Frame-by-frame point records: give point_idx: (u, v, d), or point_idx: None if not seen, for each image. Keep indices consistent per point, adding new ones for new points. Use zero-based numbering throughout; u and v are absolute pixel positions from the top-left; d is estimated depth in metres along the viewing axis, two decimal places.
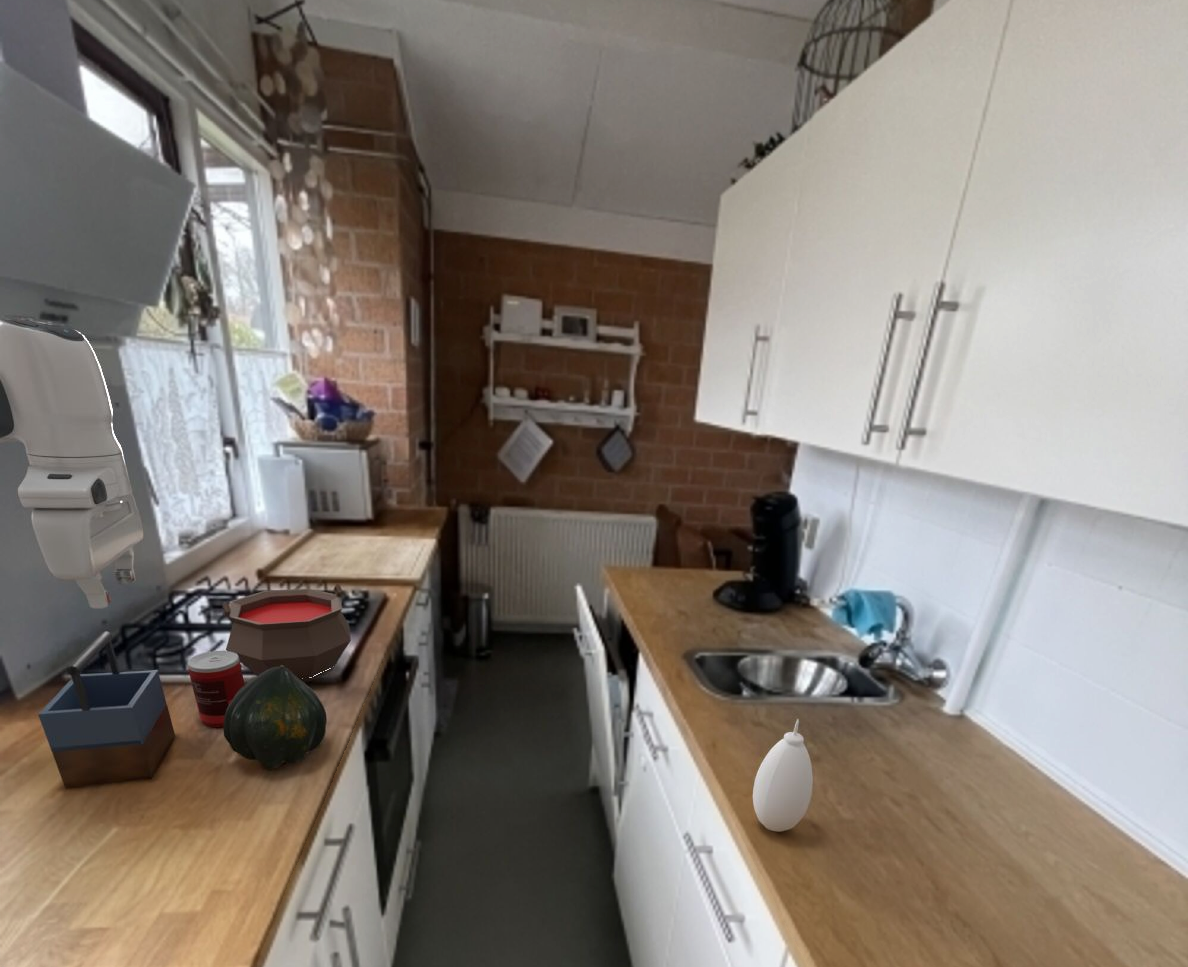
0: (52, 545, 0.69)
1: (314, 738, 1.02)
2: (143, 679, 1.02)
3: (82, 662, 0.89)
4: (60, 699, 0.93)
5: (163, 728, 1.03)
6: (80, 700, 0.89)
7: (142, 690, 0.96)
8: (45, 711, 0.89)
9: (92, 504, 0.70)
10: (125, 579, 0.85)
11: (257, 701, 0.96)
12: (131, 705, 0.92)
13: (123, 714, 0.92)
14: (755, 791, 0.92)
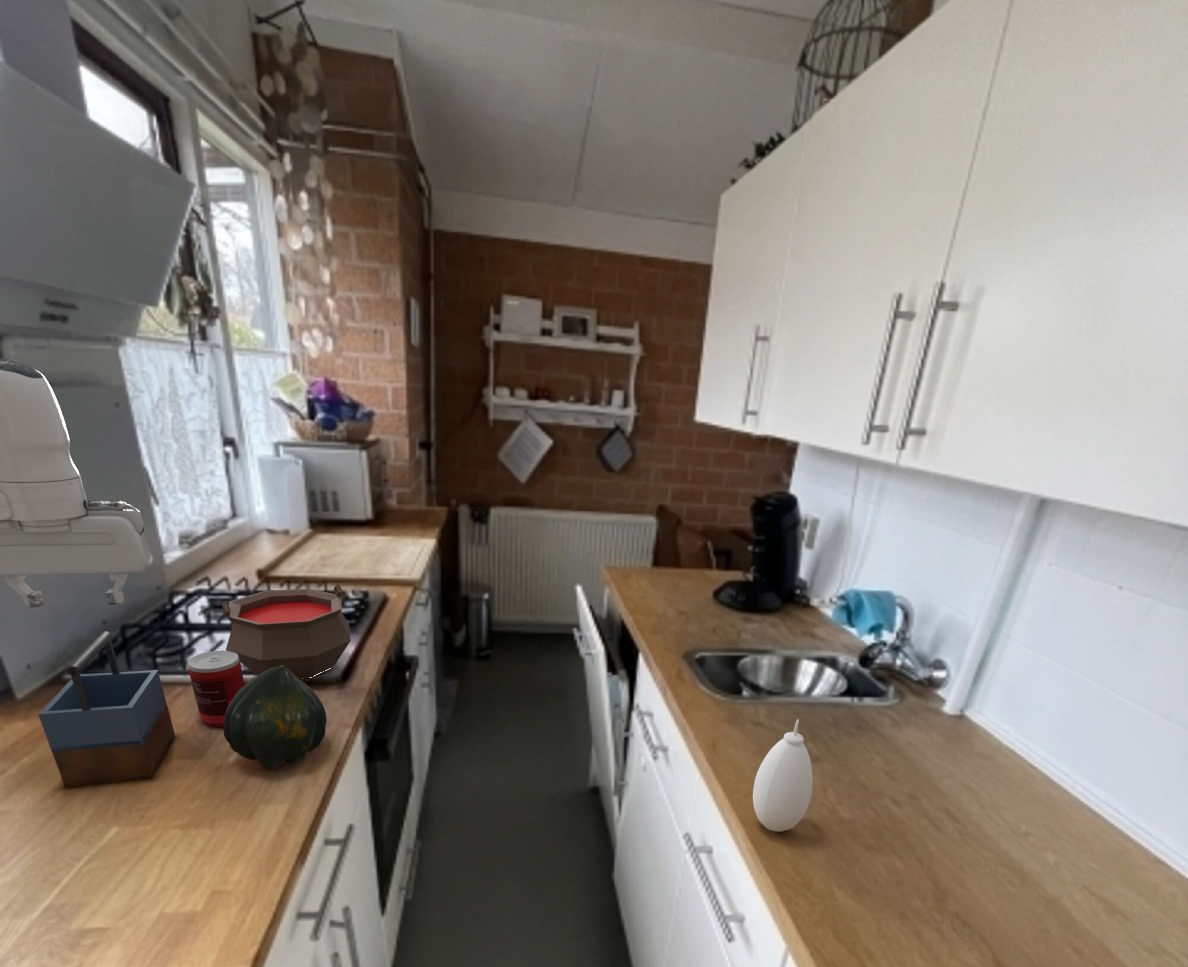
0: None
1: (314, 738, 1.02)
2: (143, 679, 1.02)
3: (82, 662, 0.89)
4: (60, 699, 0.93)
5: (163, 728, 1.03)
6: (80, 700, 0.89)
7: (142, 690, 0.96)
8: (45, 711, 0.89)
9: None
10: None
11: (257, 701, 0.96)
12: (131, 705, 0.92)
13: (123, 714, 0.92)
14: (755, 791, 0.92)
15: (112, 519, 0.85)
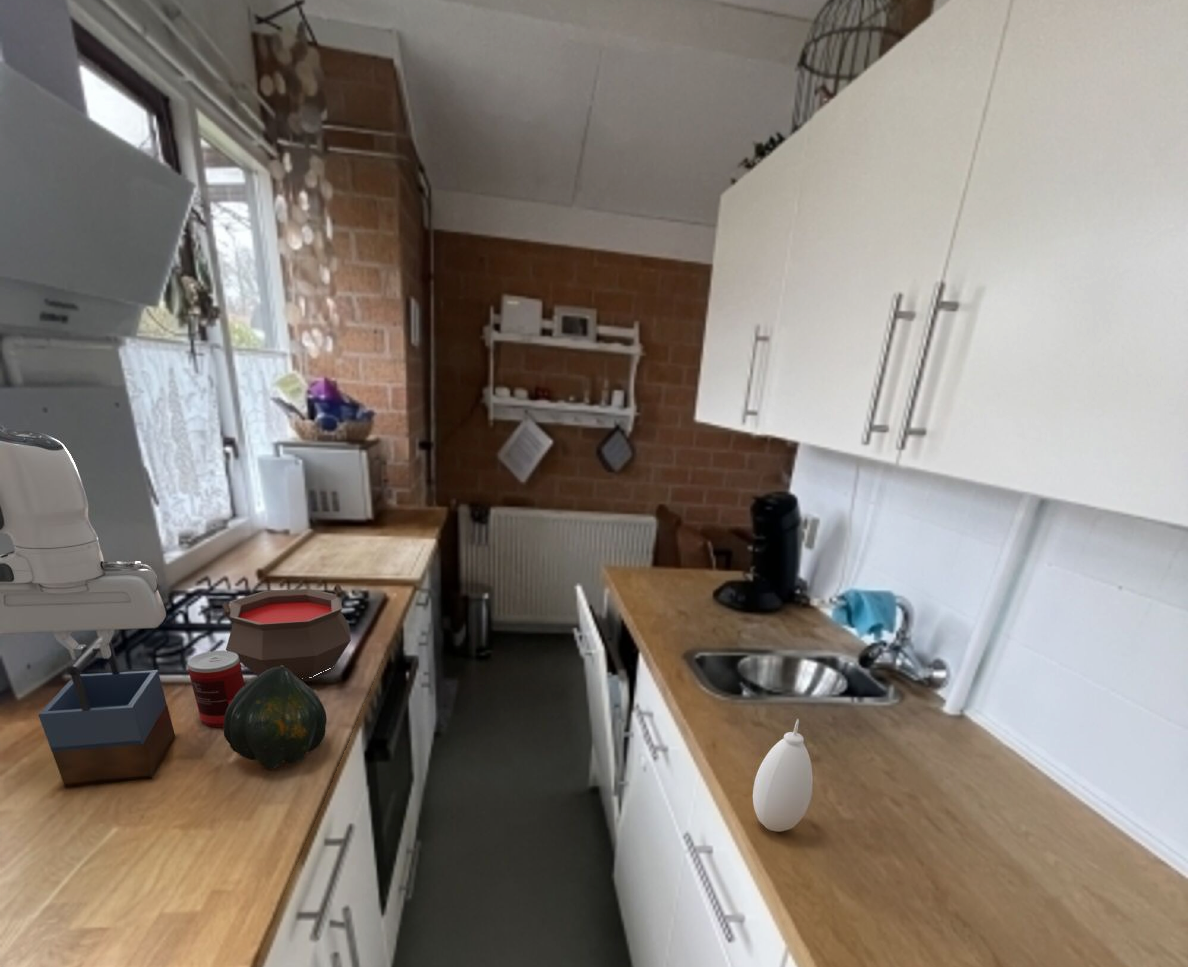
0: None
1: (314, 738, 1.02)
2: (143, 679, 1.02)
3: (82, 662, 0.89)
4: (60, 699, 0.93)
5: (163, 728, 1.03)
6: (80, 700, 0.89)
7: (142, 690, 0.96)
8: (45, 711, 0.89)
9: None
10: None
11: (257, 701, 0.96)
12: (131, 705, 0.92)
13: (123, 714, 0.91)
14: (755, 791, 0.92)
15: (128, 579, 0.89)
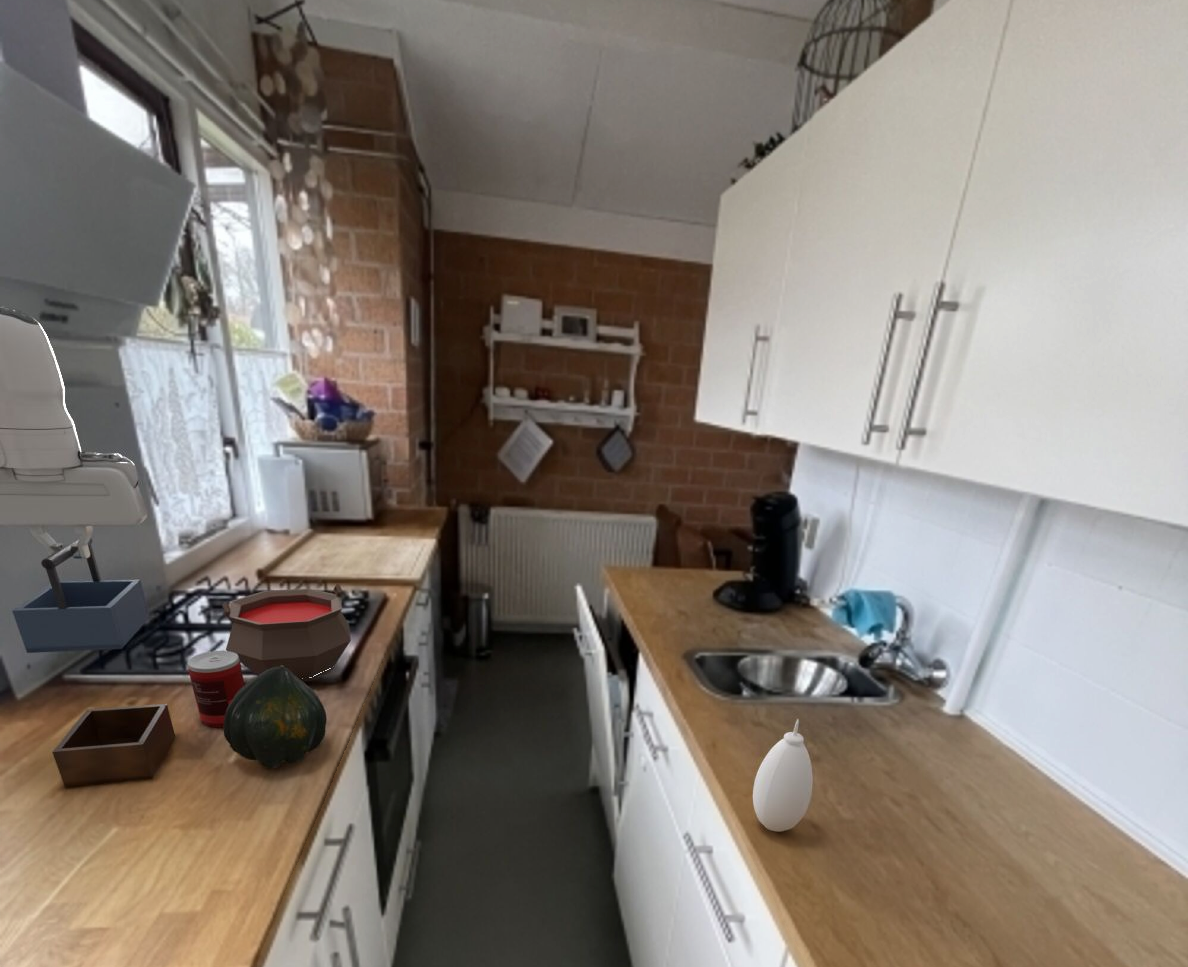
0: None
1: (314, 738, 1.02)
2: (125, 588, 0.98)
3: (58, 557, 0.85)
4: (36, 600, 0.89)
5: (163, 728, 1.03)
6: (56, 597, 0.85)
7: (122, 594, 0.92)
8: (20, 608, 0.85)
9: None
10: None
11: (257, 701, 0.96)
12: (110, 606, 0.88)
13: (102, 614, 0.88)
14: (755, 791, 0.92)
15: (106, 471, 0.85)
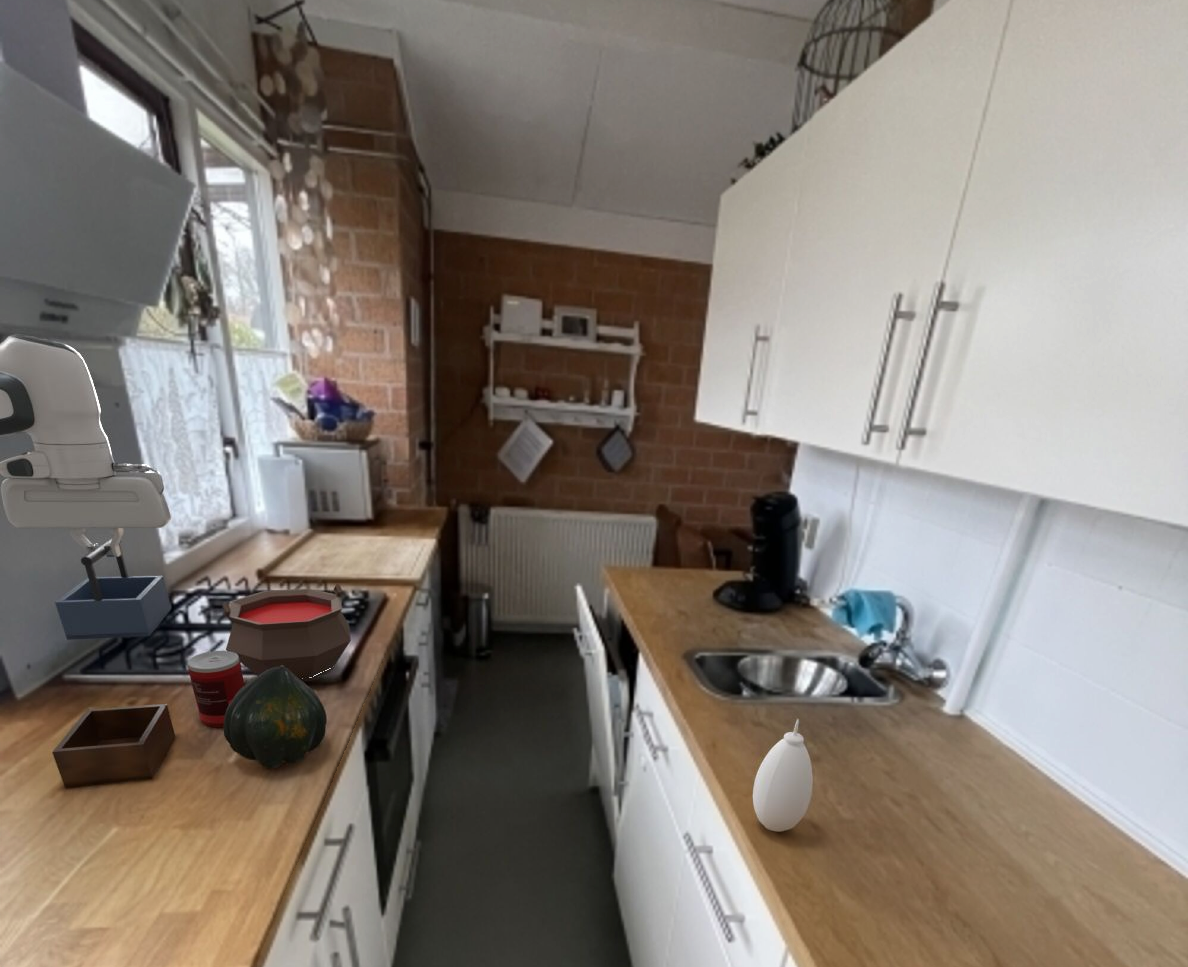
0: None
1: (314, 738, 1.02)
2: (149, 583, 1.10)
3: (95, 555, 0.97)
4: (74, 593, 1.02)
5: (163, 728, 1.03)
6: (93, 590, 0.98)
7: (149, 588, 1.05)
8: (61, 600, 0.98)
9: (3, 474, 0.91)
10: None
11: (257, 701, 0.96)
12: (139, 598, 1.01)
13: (132, 605, 1.00)
14: (755, 791, 0.92)
15: (136, 480, 0.97)
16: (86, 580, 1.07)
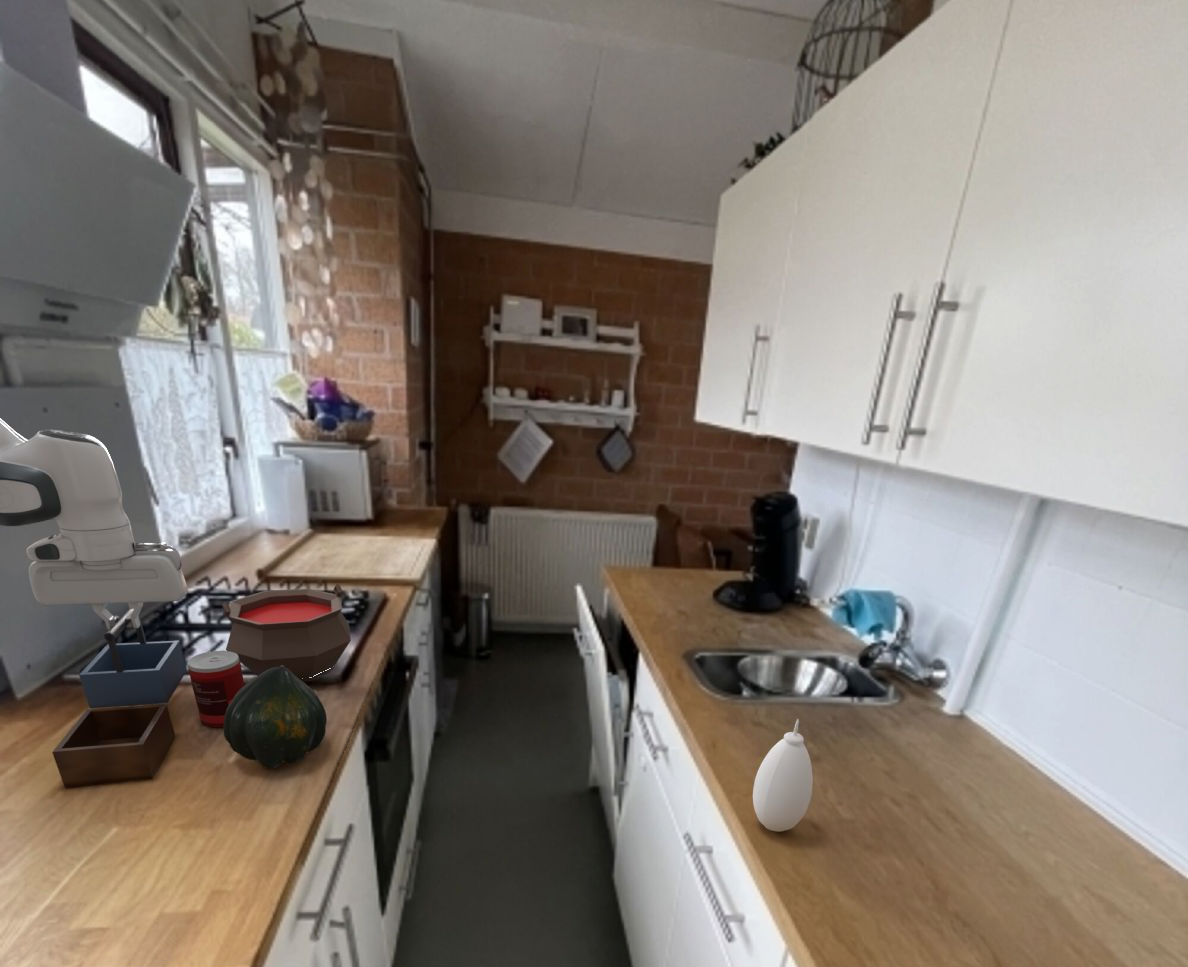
0: None
1: (314, 738, 1.02)
2: (166, 648, 1.16)
3: (116, 630, 1.03)
4: (96, 663, 1.07)
5: (163, 728, 1.03)
6: (115, 663, 1.03)
7: (167, 656, 1.10)
8: (85, 672, 1.03)
9: (31, 558, 0.97)
10: None
11: (257, 701, 0.96)
12: (158, 668, 1.06)
13: (152, 676, 1.05)
14: (755, 791, 0.92)
15: (155, 558, 1.02)
16: (107, 647, 1.12)
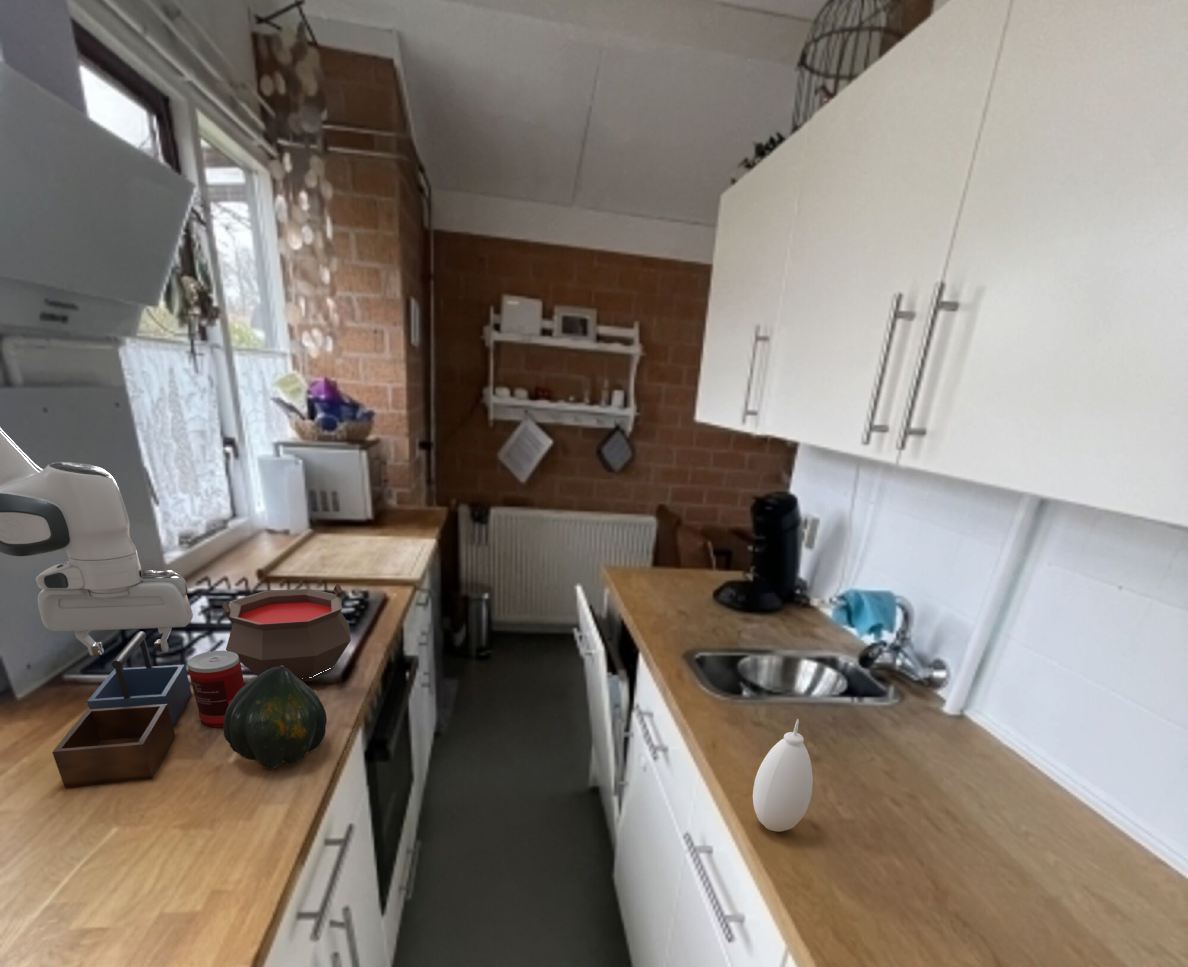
0: None
1: (314, 738, 1.02)
2: (172, 672, 1.18)
3: (124, 657, 1.05)
4: (103, 689, 1.09)
5: (163, 728, 1.03)
6: (122, 689, 1.05)
7: (172, 681, 1.12)
8: (92, 699, 1.05)
9: (41, 587, 0.99)
10: None
11: (257, 701, 0.96)
12: (164, 694, 1.08)
13: (158, 701, 1.08)
14: (755, 791, 0.92)
15: (162, 586, 1.04)
16: (113, 672, 1.14)
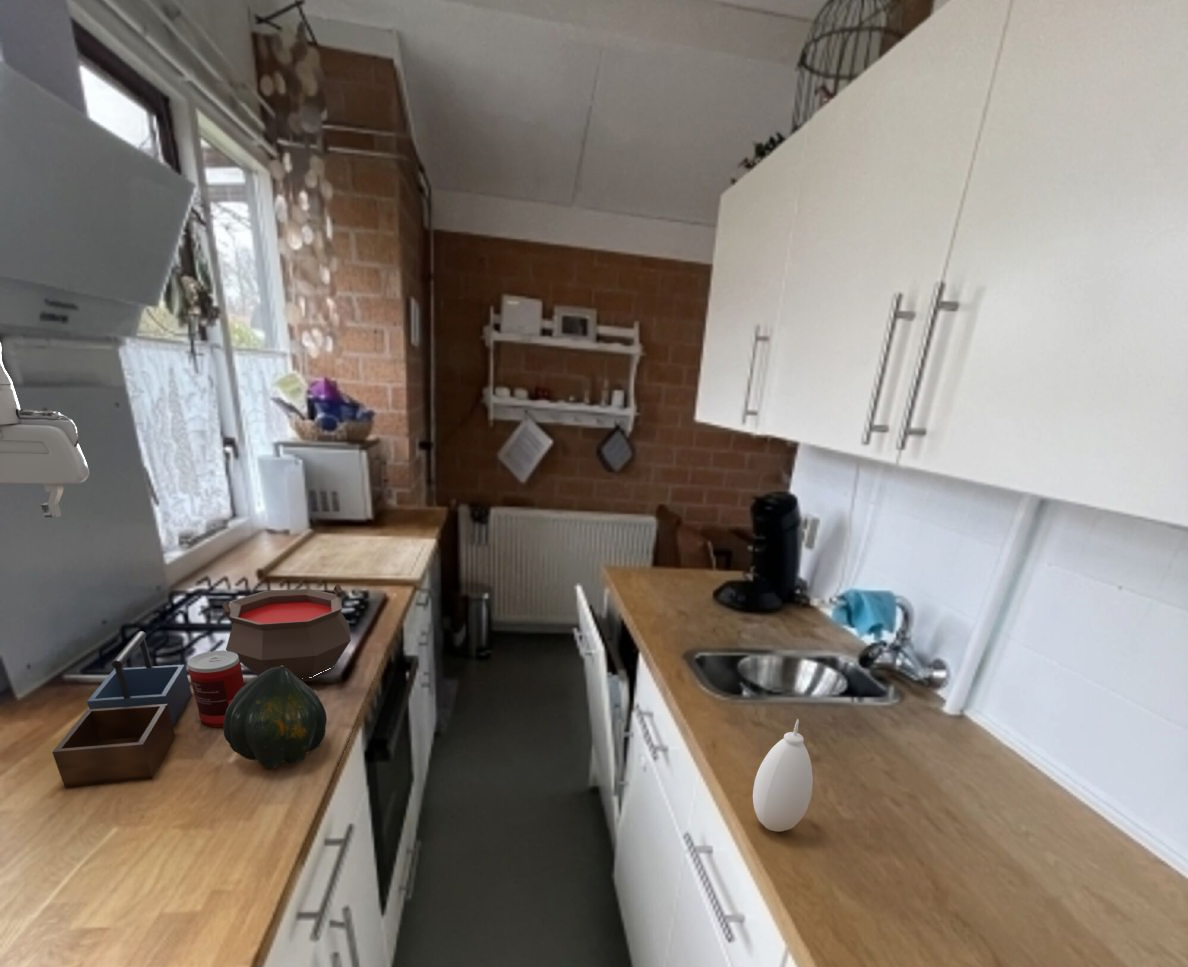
0: None
1: (314, 738, 1.02)
2: (172, 672, 1.18)
3: (124, 657, 1.05)
4: (103, 689, 1.09)
5: (163, 728, 1.03)
6: (122, 689, 1.05)
7: (172, 681, 1.12)
8: (92, 699, 1.05)
9: None
10: None
11: (257, 701, 0.96)
12: (164, 694, 1.08)
13: (158, 701, 1.08)
14: (755, 791, 0.92)
15: (44, 428, 0.86)
16: (113, 672, 1.14)
